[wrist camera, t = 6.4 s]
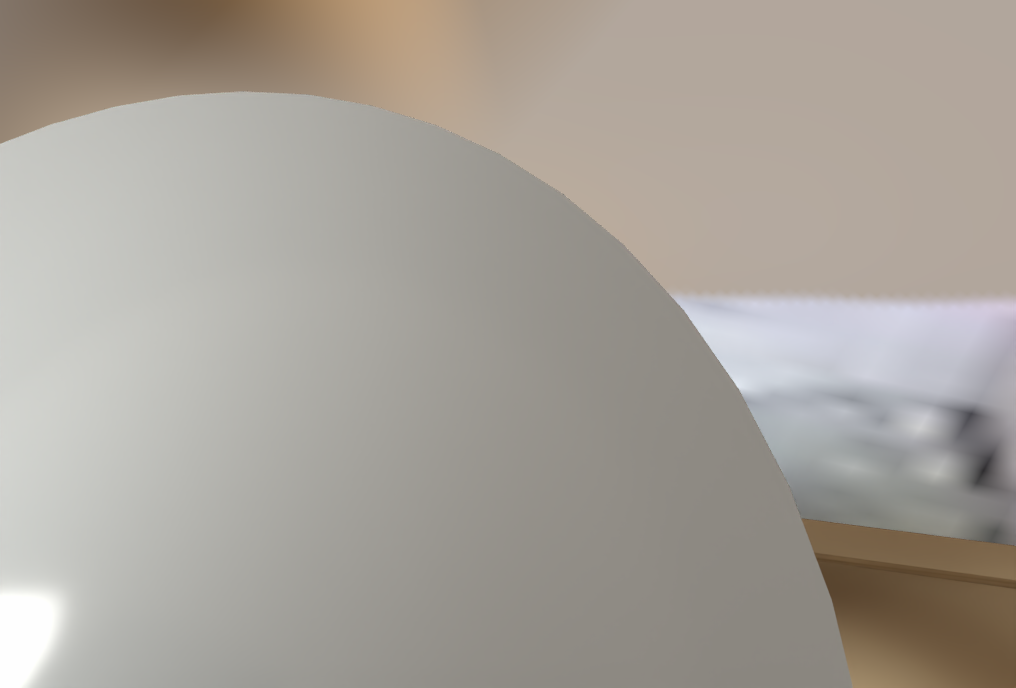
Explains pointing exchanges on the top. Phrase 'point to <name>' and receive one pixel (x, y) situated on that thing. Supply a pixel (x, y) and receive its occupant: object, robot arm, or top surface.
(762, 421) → the top surface
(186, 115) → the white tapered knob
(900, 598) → the open wooden box
